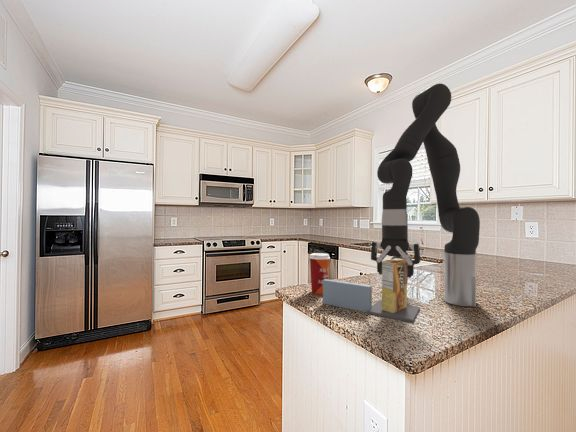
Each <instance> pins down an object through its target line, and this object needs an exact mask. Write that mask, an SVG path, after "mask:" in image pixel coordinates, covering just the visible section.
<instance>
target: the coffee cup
mask: <svg viewBox="0 0 576 432" xmlns="http://www.w3.org/2000/svg"><path fill="white" fill-rule="evenodd" d="M330 259H331V257H330V254H329V253H325V252H324V253H322V252H313V253H310V254H309V265H310V268H309V269H310V283H311V285H310V286H311V293H312V294H313V295H318V296H319V295H320V296H323V280H324V279H329V274H330V273H329V271H330Z"/></svg>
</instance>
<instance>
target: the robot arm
mask: <svg viewBox="0 0 576 432" xmlns="http://www.w3.org/2000/svg"><path fill="white" fill-rule="evenodd" d="M451 102H452V93H451V90H450V88H449V87H448V86H447V85H446V84H445V83H435V84H433V85H431V86H430V87H428V88H426V89H424V90H423V91H421V92H420V93H417V95H415V96H414V97H413V99H412V101H411V108H412V112H413V117H414V118H415V119H414V120H413V121H412V122H411V123H410V124H409V125H408V126H407V128H406V129H405V130H404V131H403V132H402V134H401V135H400V137H399V138H398V141H397V142H396V144H395V146H394V148H393V149H392V150H391V151H390V152H389V153H388V154H386V156H385V157H384V158H383V159H382V161H381V162H380V164H379V166H378V168H377V175H376V176H377V179H378V181H379V182H381V183H382V184H387V185H389V184H392V186H391V188H390V189H389V190H386V191H384V192H383V194H382V213H381V242H379V241H373V242H371V247H370V248H371V250H370V260H371V261H375V262H376V266H377V267H376V270H377V271H376V272H377V273H378V274H379V275H380V276H382V261H384V259H385V258H386V257H387V256H388V257H393V256H396V257H400V256H402V257H403V258H404V259H405V260H406V262H407V263H408V264H409V265H408V279H409V278H412V277H413V276H414V274H415V270H414V269H415V265H418V264H419V263H420V262H421V253H420V251H421V250H420V244H419V242H416V243H409V239H408V238H409V237H408V235H409V233H408V232H409V231H408V230H409V229H408V228H409V227H408V226H409V225H408V224H409V223H408V221H409V219H408V211H407V209H408V208H407V207H408V206H407V204H408V202H407V201H408V199H407V196H408V192H409V189H410V185H411V182H412V178H413V167H412V164H411V161H413V160H414V159H415V157H416V156H417V154H418V153H419V150H420V148H421V147H422V145H423V146H424V149H425V150H424V151H425V154H426V158H427V162H428V163H427V164H428V167H429V168H428V169H429V172H430V175H431V179H432V184H433V188H434V193H435V196H436V204H437V205H436V206H437V214H438V219H439V223H440V225H441V228H442V229H443V230H445V231H446V232H448V233H452V238H451V240H450V241H449V242H447V243H446V244H444V247H443V249H444V250H443V251H444V252H443V253H444V256H443V257H444V262H443V263H444V264H443V265H444V266H443V268H444V269H443V270H444V273H443V279H444V280H443V281H444V283H443V284H444V285H443V286H444V287H443V288H444V289H443V290H444V291H443V293H444V294H443V297H444V298H443V299H444V300H443V301H444V302H445V303H448V304H450V305H454V306H459V307H473V308H475V307H477V303H476V302H477V295H476V294H477V278H476V276H477V273H476V271H477V270H476V268H477V267H476V266H477V264H476V262H477V261H476V260H477V256H476V254H477V253H476V252H477V248H478V246H479V243H480V229H481V226H480V224H481V222H480V216H479V213H478V211H477V210H476V209H475V208H473V207H470V206H460V204H459V201H458V195H457V194H458V193H457V187H458V183H459V180H460V174H461V162H460V159H459V154H458V150H457V147H456V146H455V144H453V142H452V141H450V140H449V139H448V138H447V137H446V136H444V135H443V134H442V133H441V132H440V130H439V128H438V126H437V122H438V121H439V120H440V118H441V116H443V114H444V113H445V112H446V110H447V109H448V108H449V107H450V104H451ZM379 248H382V250H383V251H382V253H381V254H380V255H379V256H378V249H379ZM409 248H410V249H411V251H413V256H414V259H412V257H411V255H410V254H409V253H408V252H407V251H408V249H409Z"/></svg>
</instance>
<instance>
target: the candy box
mask: <svg viewBox="0 0 576 432" xmlns="http://www.w3.org/2000/svg"><path fill="white" fill-rule="evenodd" d="M390 259H391V258H390ZM390 259H387V260H382V275H381V285H382V286H381V301H382V310H383V311H387V312H390V313H395V312H397V311H399V310H401V309H404V308H406V307H407V305H408V304H407V303H408V300H407V299H408V296H407V295H408V281H407V262H406V260H405V259H397V258H395V259H391V260H390Z"/></svg>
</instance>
